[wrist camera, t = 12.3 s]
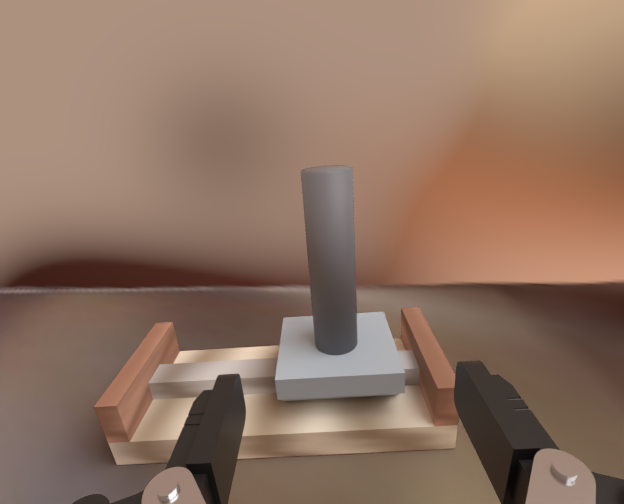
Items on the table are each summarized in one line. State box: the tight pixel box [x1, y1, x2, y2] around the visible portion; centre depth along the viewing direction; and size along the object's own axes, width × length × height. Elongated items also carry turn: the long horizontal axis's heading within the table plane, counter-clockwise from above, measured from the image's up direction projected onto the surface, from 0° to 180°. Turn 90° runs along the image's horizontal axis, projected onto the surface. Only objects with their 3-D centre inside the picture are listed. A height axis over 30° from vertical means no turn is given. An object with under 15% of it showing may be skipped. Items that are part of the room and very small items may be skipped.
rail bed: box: [94, 307, 459, 465], centre depth 26 cm, size 22×9×5 cm, turn 90°
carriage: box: [275, 165, 405, 401], centre depth 23 cm, size 8×7×15 cm
